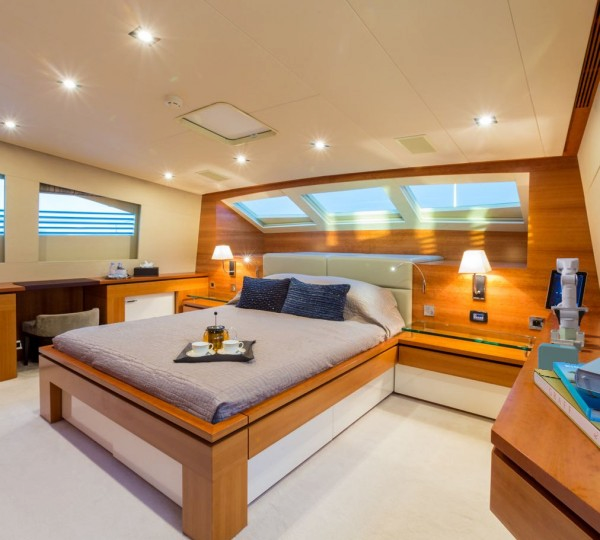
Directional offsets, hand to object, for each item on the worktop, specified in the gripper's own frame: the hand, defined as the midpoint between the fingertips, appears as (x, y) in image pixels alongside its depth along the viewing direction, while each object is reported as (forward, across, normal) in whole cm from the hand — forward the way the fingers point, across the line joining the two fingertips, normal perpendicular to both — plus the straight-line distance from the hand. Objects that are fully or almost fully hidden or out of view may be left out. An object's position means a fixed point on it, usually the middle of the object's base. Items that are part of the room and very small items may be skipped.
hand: (569, 325), depth 176 cm
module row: (+9, -1, +10) cm, 13 cm away
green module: (+8, 0, +18) cm, 20 cm away
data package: (+20, -4, -54) cm, 58 cm away
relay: (+12, +3, -4) cm, 13 cm away
